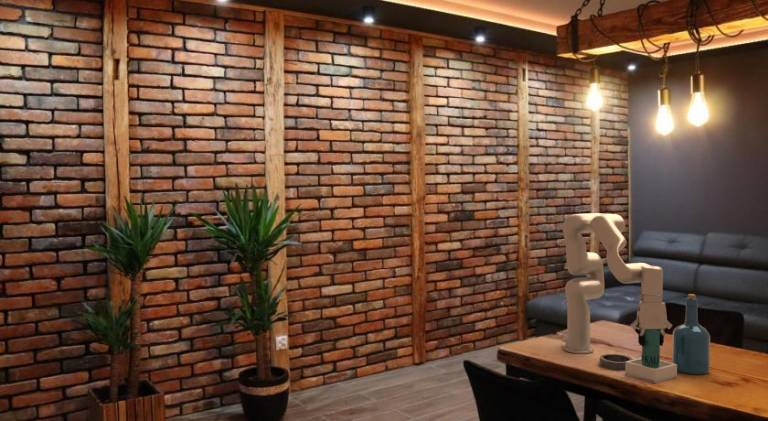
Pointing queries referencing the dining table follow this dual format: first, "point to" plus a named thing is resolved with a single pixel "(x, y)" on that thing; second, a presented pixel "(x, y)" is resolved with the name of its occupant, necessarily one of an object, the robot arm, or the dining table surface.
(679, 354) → the wine bottle
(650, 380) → the bin
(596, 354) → the dining table surface
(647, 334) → the beverage bottle
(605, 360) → the holder ring
